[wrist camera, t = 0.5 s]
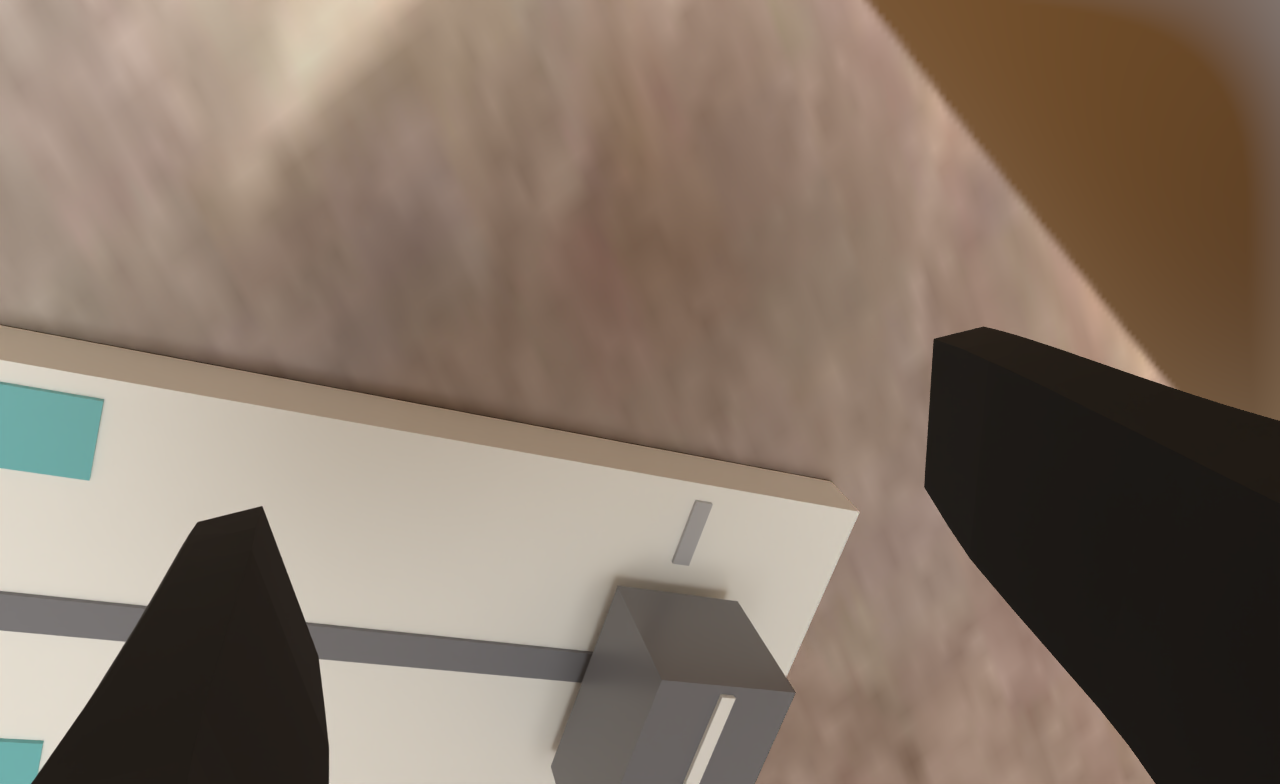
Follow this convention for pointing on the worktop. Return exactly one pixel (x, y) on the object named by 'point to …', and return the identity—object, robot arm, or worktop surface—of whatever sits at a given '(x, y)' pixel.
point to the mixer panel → (369, 549)
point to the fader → (673, 696)
